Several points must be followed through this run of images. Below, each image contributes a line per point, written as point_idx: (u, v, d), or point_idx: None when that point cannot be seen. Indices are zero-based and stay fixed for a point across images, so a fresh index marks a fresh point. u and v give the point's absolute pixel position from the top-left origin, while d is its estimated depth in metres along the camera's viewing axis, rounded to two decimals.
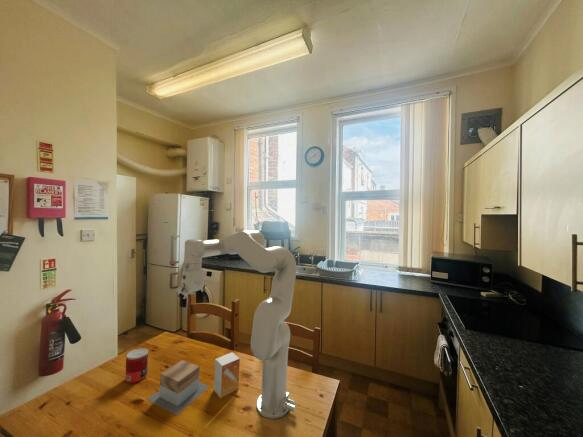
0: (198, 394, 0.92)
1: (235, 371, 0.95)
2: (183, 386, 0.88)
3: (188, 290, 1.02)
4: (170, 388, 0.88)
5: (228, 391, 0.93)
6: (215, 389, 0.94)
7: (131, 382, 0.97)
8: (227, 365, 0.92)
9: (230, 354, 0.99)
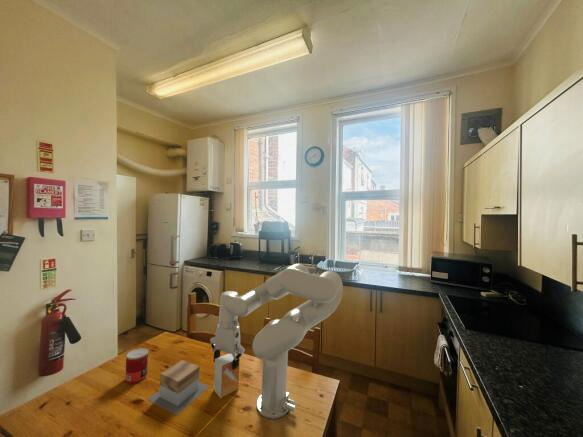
0: (198, 394, 0.92)
1: (235, 371, 0.95)
2: (183, 386, 0.88)
3: None
4: (170, 388, 0.88)
5: (228, 391, 0.93)
6: (215, 389, 0.94)
7: (131, 382, 0.97)
8: (227, 365, 0.92)
9: (230, 354, 0.99)
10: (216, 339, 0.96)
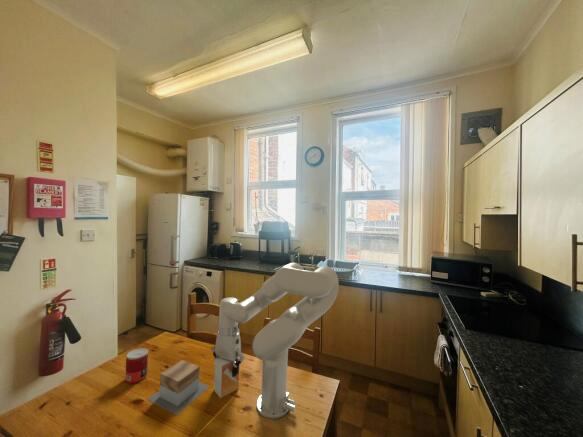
0: (198, 394, 0.92)
1: None
2: (183, 386, 0.88)
3: None
4: (170, 388, 0.88)
5: (228, 391, 0.93)
6: (215, 389, 0.94)
7: (131, 382, 0.97)
8: (227, 365, 0.92)
9: None
10: (217, 346, 0.95)
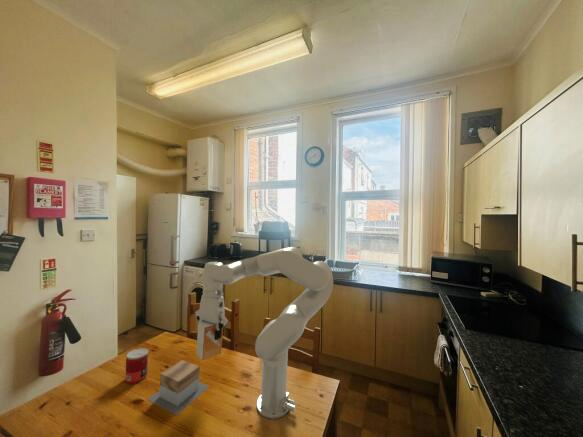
0: (198, 394, 0.92)
1: None
2: (183, 386, 0.88)
3: None
4: (170, 388, 0.88)
5: (210, 353, 0.92)
6: (197, 352, 0.93)
7: (131, 382, 0.97)
8: (209, 328, 0.92)
9: None
10: (200, 309, 0.95)
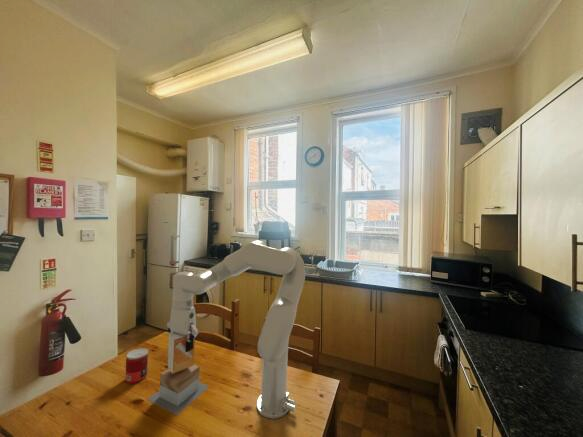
0: (198, 394, 0.92)
1: None
2: (183, 386, 0.88)
3: None
4: (170, 388, 0.88)
5: (182, 366, 0.90)
6: (168, 364, 0.91)
7: (131, 382, 0.97)
8: (180, 339, 0.90)
9: None
10: (171, 321, 0.93)
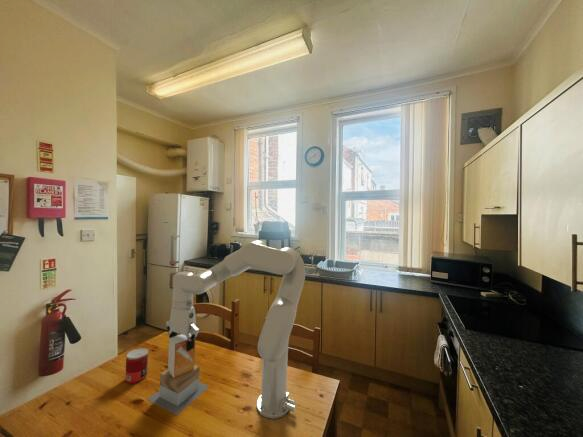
0: (198, 394, 0.92)
1: (190, 350, 0.92)
2: (183, 386, 0.88)
3: None
4: (170, 388, 0.88)
5: (182, 370, 0.90)
6: (169, 369, 0.91)
7: (131, 382, 0.97)
8: (180, 343, 0.90)
9: None
10: (170, 321, 0.93)
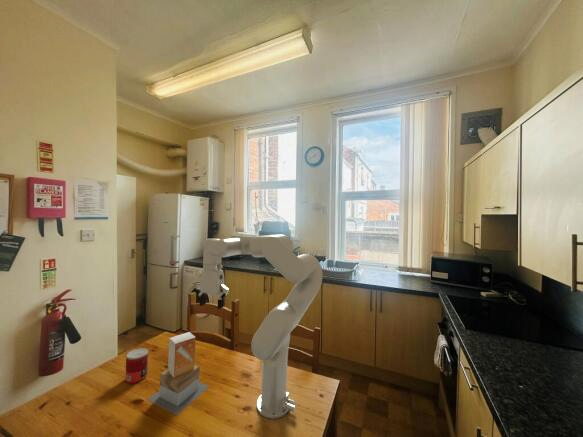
0: (198, 394, 0.92)
1: (190, 350, 0.92)
2: (183, 386, 0.88)
3: None
4: (170, 388, 0.88)
5: (182, 370, 0.90)
6: (169, 369, 0.91)
7: (131, 382, 0.97)
8: (180, 343, 0.90)
9: (187, 333, 0.96)
10: (201, 283, 1.01)
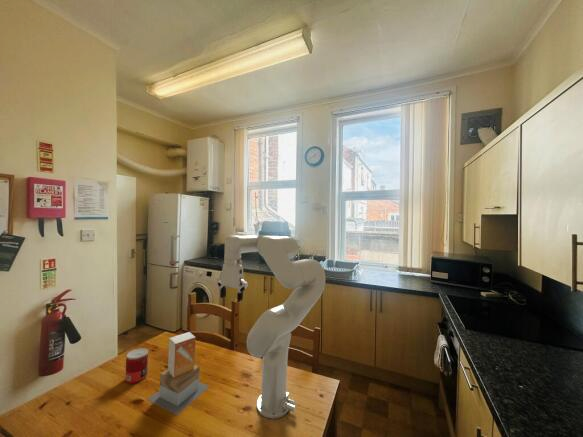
0: (198, 394, 0.92)
1: (190, 350, 0.92)
2: (183, 386, 0.88)
3: None
4: (170, 388, 0.88)
5: (182, 370, 0.90)
6: (169, 369, 0.91)
7: (131, 382, 0.97)
8: (180, 343, 0.90)
9: (187, 333, 0.96)
10: (222, 276, 1.08)
